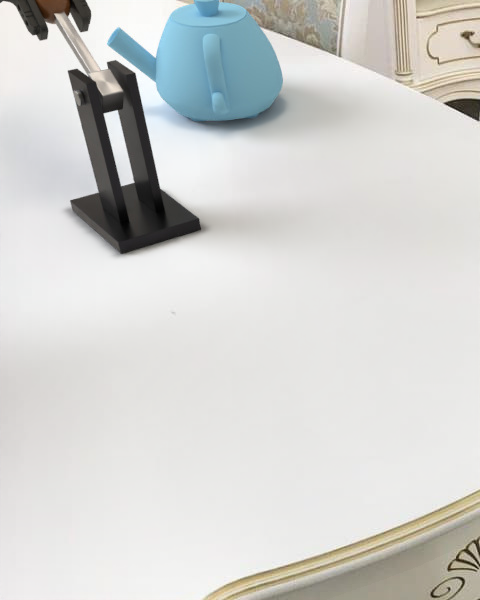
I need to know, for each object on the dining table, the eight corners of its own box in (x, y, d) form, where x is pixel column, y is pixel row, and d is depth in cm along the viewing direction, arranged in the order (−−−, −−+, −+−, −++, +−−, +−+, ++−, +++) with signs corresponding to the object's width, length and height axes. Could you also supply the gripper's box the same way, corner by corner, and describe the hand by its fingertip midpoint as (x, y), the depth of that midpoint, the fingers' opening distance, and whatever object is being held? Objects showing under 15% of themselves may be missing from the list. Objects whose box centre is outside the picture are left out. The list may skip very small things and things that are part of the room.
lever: (25, 7, 110) (23, -24, 107) (60, 0, 112) (59, -30, 108) (95, 120, 109) (95, 92, 105) (130, 112, 110) (130, 84, 107)
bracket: (72, 211, 118) (31, 63, 108) (150, 189, 122) (118, 44, 112) (121, 253, 112) (82, 101, 101) (201, 229, 116) (172, 80, 105)
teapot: (291, 134, 133) (277, 19, 124) (120, 145, 130) (92, 28, 121) (281, 75, 147) (267, -33, 138) (125, 84, 144) (101, -25, 135)
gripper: (-97, -160, 101) (-4, 23, 103) (53, -177, 107) (137, -5, 109) (-94, -103, 107) (-7, 67, 110) (47, -123, 114) (127, 38, 116)
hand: (65, 30), depth 109 cm, fingers closed on lever, 3 cm apart
